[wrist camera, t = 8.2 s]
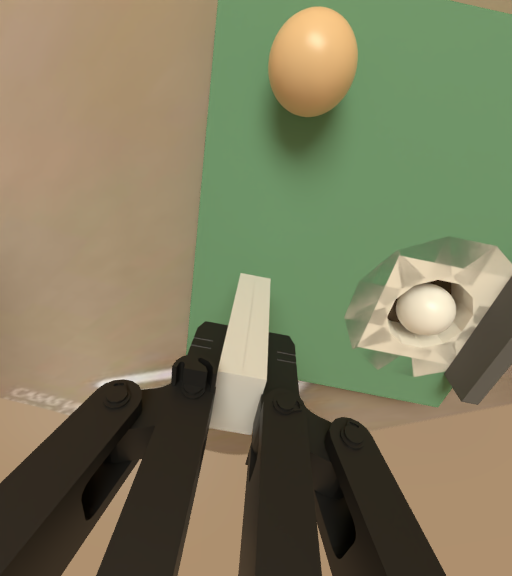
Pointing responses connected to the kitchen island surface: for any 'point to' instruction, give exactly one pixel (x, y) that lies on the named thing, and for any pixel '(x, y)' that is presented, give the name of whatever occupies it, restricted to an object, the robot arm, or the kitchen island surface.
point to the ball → (426, 309)
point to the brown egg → (313, 61)
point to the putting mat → (366, 195)
